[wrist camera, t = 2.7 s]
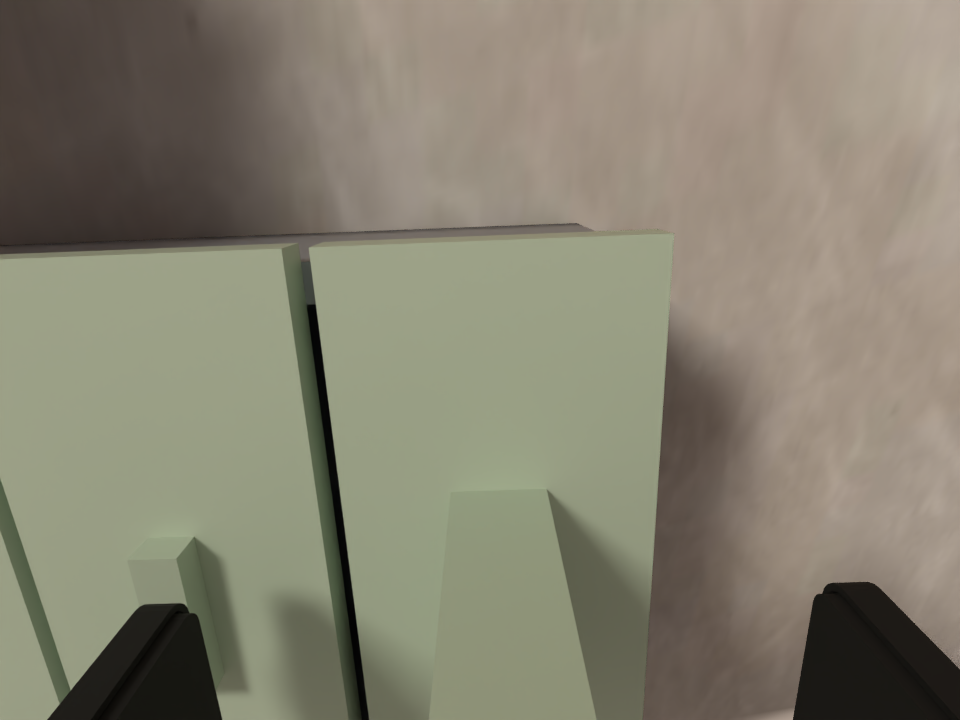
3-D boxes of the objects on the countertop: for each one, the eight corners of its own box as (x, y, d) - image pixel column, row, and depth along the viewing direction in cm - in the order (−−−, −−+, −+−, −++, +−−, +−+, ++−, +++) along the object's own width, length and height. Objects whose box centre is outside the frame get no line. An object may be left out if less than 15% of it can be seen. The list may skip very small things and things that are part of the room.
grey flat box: (571, 600, 18) (612, 791, 13) (85, 615, 18) (-93, 809, 13) (576, 223, 15) (637, 249, 9) (-28, 246, 15) (-347, 286, 9)
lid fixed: (373, 807, 13) (361, 880, 11) (-101, 819, 13) (-169, 893, 12) (298, 243, 9) (266, 253, 8) (-373, 269, 9) (-522, 283, 8)
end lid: (625, 800, 13) (738, 1279, 7) (391, 806, 13) (322, 1288, 7) (658, 228, 9) (952, 305, 3) (323, 242, 9) (66, 338, 3)
